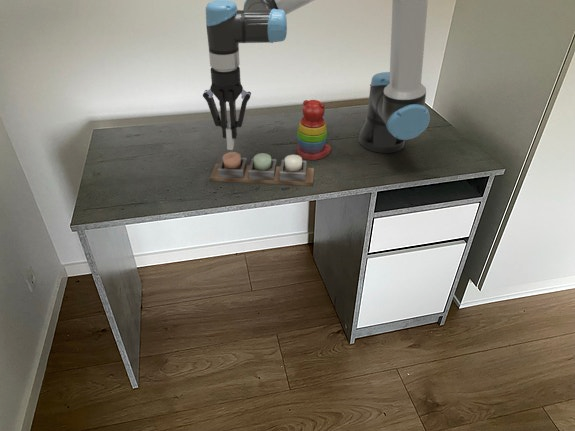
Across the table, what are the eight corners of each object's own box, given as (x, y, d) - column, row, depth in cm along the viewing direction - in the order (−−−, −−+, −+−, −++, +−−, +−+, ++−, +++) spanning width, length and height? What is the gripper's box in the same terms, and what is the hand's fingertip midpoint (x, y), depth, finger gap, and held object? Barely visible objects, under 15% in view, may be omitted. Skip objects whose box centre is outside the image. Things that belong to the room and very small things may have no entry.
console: (313, 170, 142) (314, 160, 140) (312, 185, 136) (313, 175, 133) (215, 166, 144) (214, 156, 141) (210, 180, 137) (209, 170, 135)
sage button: (272, 162, 140) (271, 153, 138) (270, 171, 136) (270, 162, 134) (255, 161, 140) (255, 152, 138) (253, 170, 136) (252, 161, 134)
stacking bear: (333, 149, 153) (336, 97, 142) (321, 163, 145) (324, 110, 134) (302, 142, 156) (304, 91, 145) (289, 156, 149) (290, 103, 138)
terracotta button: (242, 161, 140) (241, 152, 138) (239, 169, 136) (238, 161, 134) (225, 160, 140) (224, 151, 138) (222, 169, 136) (221, 160, 135)
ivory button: (302, 163, 139) (302, 155, 137) (301, 172, 135) (301, 163, 133) (285, 163, 139) (285, 154, 137) (284, 172, 135) (284, 163, 134)
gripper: (252, 62, 123) (255, 142, 137) (203, 60, 124) (211, 140, 138) (248, 73, 117) (251, 155, 131) (196, 71, 118) (205, 153, 132)
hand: (230, 147), depth 135 cm, fingers closed
